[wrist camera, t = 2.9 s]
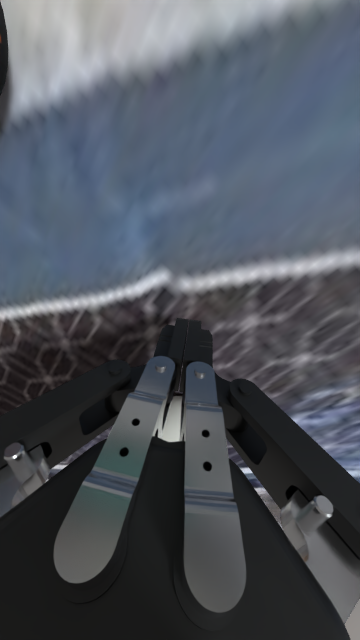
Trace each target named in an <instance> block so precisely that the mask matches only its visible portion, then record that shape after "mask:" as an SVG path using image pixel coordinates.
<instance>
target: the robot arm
mask: <svg viewBox="0 0 360 640" xmlns="http://www.w3.org/2000/svg"><path fill="white" fill-rule="evenodd" d="M188 320H189V319H182V318H177V319H176V323H175V326H173V325H166V326H165V327H164V328H163V329H162V331H161V334H160V338H159V341H158V344H157V347H156V350H155V353H154V356H153V358H151V359H150V360H149V361H148V363H147V364H146V365H143V366H139V367H130V366H129V364H128V363H127V362H125V361H123V360H112V361H109V362H107V363H105V364H103V365H101V366H99V367H97V368H95V369H93V370H91V371H89V372H87V373H85V374H83V375H81V376H79V377H77V378H75V379H73V380H71V381H69V382H67V383H65V384H63V385H61V386H59V387H57V388H55V389H53V390H51V391H49V392H47V393H45V394H43V395H41V396H39V397H37V398H35V399H33V400H31V401H29V402H27V403H25V404H23V405H21V406H19V407H17V408H15V409H13V410H11V411H9V412H7V413H5V414H3V415H1V416H0V640H350V637H349V635H348V632H347V630H346V628H345V625H344V624H345V622H346V621H347V619H348V617H349V616H350V614H351V612H352V611H353V609H354V607H355V605H356V604H357V602H358V600H359V599H360V483H359V482H358V481H356V480H355V479H354V478H353V477H352V476H351V475H350V474H349V473H348V472H347V471H346V470H345V469H344V468H343V467H342V466H341V465H340V464H338V463H337V462H336V461H335V460H334V459H333V458H332V457H331V456H330V455H329V454H328V453H327V452H326V451H325V450H324V449H323V448H322V447H321V446H319V445H318V444H317V443H316V442H315V441H314V440H313V439H312V438H311V437H310V436H309V435H308V434H307V433H306V432H305V431H304V430H303V429H301V428H300V427H299V426H298V425H297V424H296V423H295V422H294V421H293V420H292V419H291V418H290V417H289V416H288V415H287V414H286V413H285V412H284V411H282V410H281V409H280V408H279V407H278V406H277V405H276V404H275V403H274V402H273V401H272V400H271V399H270V398H269V397H268V396H267V395H266V394H265V393H263V392H262V391H261V390H260V389H259V388H258V387H257V386H256V385H255V384H254V383H252V382H251V381H249V380H246V379H235V380H233V381H232V382H229V381H227V380H224V379H222V378H221V377H219V376H218V375H217V374H216V373H215V372H214V370H213V365H212V335H211V333H210V331H209V330H202V329H201V321H197V320H189V327H188ZM187 328H188V333H187ZM186 336H187V340H186ZM185 344H186V346H185ZM184 350H185V353H184ZM183 357H184V359H183ZM182 363H183V367H182ZM181 370H182V375H181ZM180 376H181V383H180V390H179V391H180V392H183V395H182V403H181V418H180V439H179V441H177V442H167V441H165V440H163V439H162V436H163V432H164V428H165V425H166V421H167V417H168V414H169V410H170V406H171V401H172V399H173V395H174V391H178V389H179V382H180ZM113 424H114V425H113ZM112 425H113V427H112V430H111V432H110V434H109V436H108V438H107V439H105V440H103V441H101V442H99V443H97V444H95V445H94V446H92V447H91V448H90V449H88V450H87V451H86V452H84V453H83V454H82V455H81V456H79V457H78V458H77V459H75V460H74V461H73V462H72V463H70V464H69V465H68V466H66V467H65V468H64V469H62V470H61V471H60V472H59V473H57V474H56V475H55V476H53V477H52V478H51V479H49V480H48V481H47V482H46V480H47V478H48V476H49V472H50V469H51V468H53V467H54V466H56V465H57V464H58V463H60V462H61V461H63V460H64V459H65V458H67V457H68V456H70V455H71V454H73V453H74V452H75V451H77V450H78V449H80V448H81V447H82V446H84V445H85V444H87V443H88V442H89V441H91V440H92V439H94V438H95V437H97V436H98V435H99V434H101V433H102V432H104V431H105V430H106V429H108V428H109V427H111V426H112ZM226 438H227V439H228V441H229V442H230V443H231V444H232V446H233V447H234V448H235V450H236V451H237V452H238V454H239V455H240V456H241V458H242V459H243V460H244V462H245V463H246V464H247V466H248V467H249V468H250V469H251V471H252V472H253V473H254V475H255V476H256V477H257V479H258V480H259V481H260V483H261V484H262V485H263V487H264V488H265V489H266V491H267V492H268V493H269V495H270V496H271V497H272V498H273V500H274V501H275V502H276V504H277V505H278V506H279V508H280V509H281V514H280V519H281V524H282V527H283V530H284V531H283V530H282V528H281V527H280V525H279V524H278V523H277V521H276V520H275V518H274V517H273V515H272V514H271V512H270V511H269V509H268V508H267V507H266V505H265V504H264V502H263V501H262V499H261V498H260V496H259V495H258V493H257V492H256V491H255V489H254V488H253V486H252V485H251V483H250V482H249V480H248V479H247V477H246V476H245V475H244V473H243V472H242V471H241V469H240V468H239V467H238V466H237V465H236V464H235V463H234V462H233V461H232V460H231V459H229V458H228V450H227V442H226ZM45 482H46V483H45ZM284 532H285V533H284Z"/></svg>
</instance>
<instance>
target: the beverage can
mask: <svg viewBox="0 0 360 640" xmlns="http://www.w3.org/2000/svg"><path fill="white" fill-rule="evenodd" d="M7 67H8V40H7V30H6V24H5V19H4V13H3V9H2V6H1V2H0V95H1V93H2V90H3V87H4V84H5V79H6V73H7Z"/></svg>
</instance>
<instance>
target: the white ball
mask: <svg viewBox="0 0 360 640" xmlns="http://www.w3.org/2000/svg"><path fill="white" fill-rule="evenodd" d="M181 403H182V396H173V399H172V401H171V406H170V410H169V414H168V417H167V421H166V425H165V428H164V432H163V436H162V439H163V440H165V441H167V442H177V441H179V439H180V418H181Z"/></svg>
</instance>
